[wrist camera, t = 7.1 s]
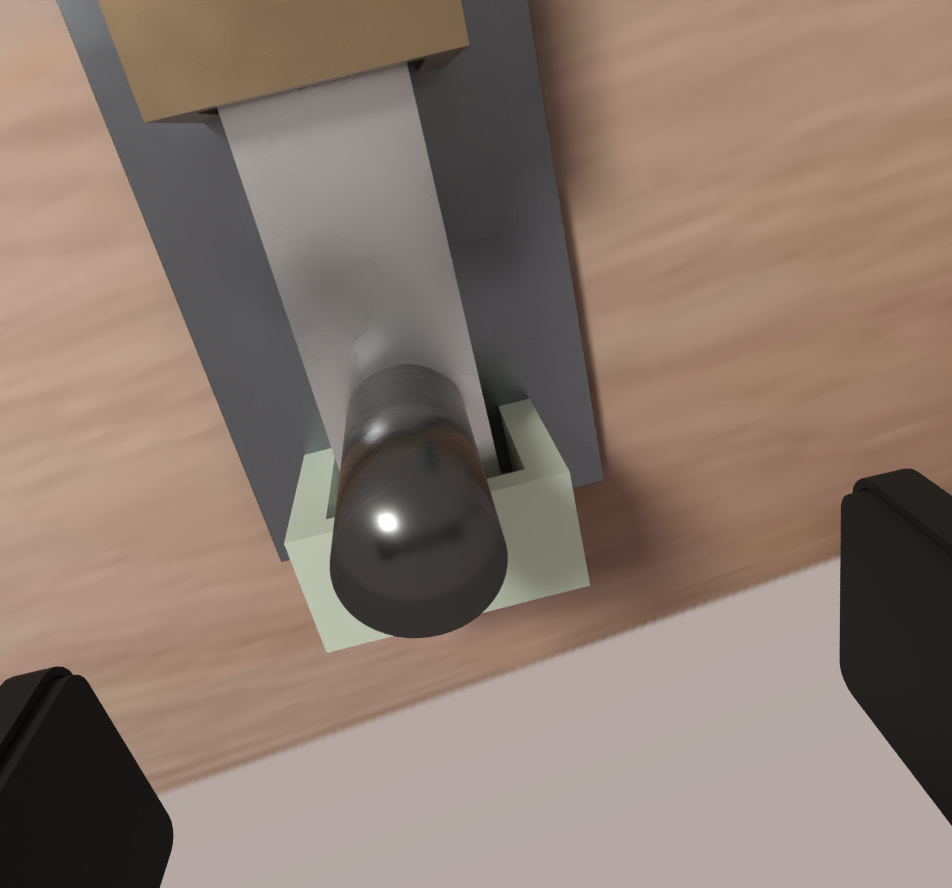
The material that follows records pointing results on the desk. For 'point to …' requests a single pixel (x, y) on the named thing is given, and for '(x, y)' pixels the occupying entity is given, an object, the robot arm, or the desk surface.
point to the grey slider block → (379, 345)
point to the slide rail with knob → (236, 234)
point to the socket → (518, 508)
